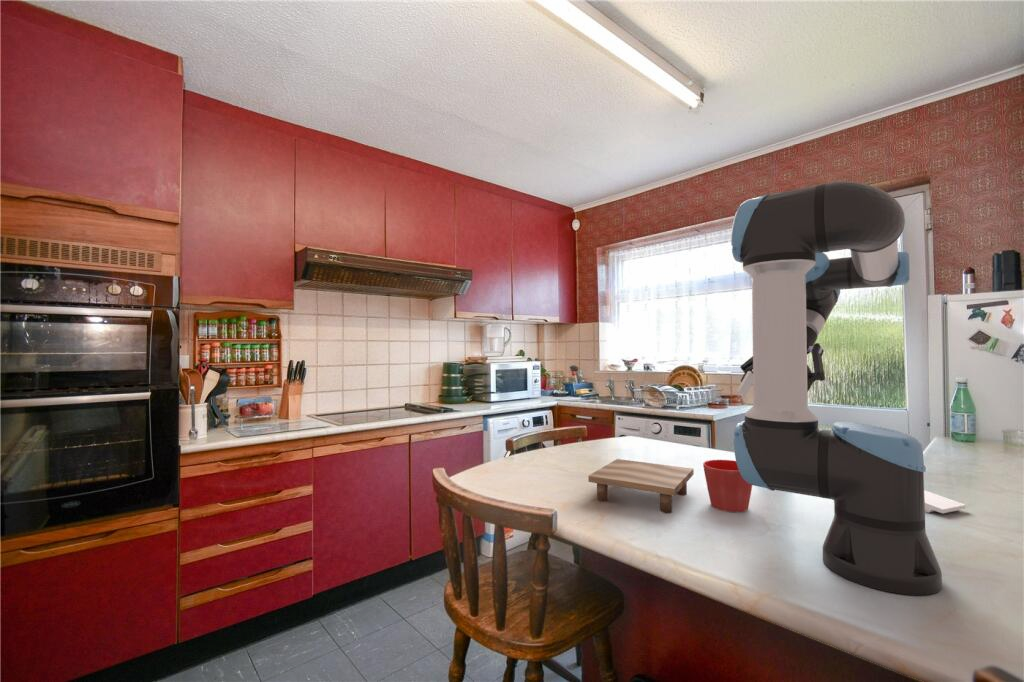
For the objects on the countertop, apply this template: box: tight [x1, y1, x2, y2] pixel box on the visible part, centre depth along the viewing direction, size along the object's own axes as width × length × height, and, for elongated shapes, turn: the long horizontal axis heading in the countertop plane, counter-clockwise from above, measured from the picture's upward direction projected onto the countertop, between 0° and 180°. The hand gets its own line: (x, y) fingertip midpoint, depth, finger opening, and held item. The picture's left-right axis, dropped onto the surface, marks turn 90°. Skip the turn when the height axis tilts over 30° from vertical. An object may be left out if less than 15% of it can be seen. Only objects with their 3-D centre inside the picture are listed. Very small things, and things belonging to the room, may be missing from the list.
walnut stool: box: [587, 458, 695, 514], centre depth 114 cm, size 20×20×6 cm
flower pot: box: [702, 459, 753, 513], centre depth 107 cm, size 11×11×10 cm
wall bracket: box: [924, 489, 967, 514], centre depth 114 cm, size 10×7×28 cm
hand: (765, 397), depth 112 cm, fingers open, 13 cm apart
